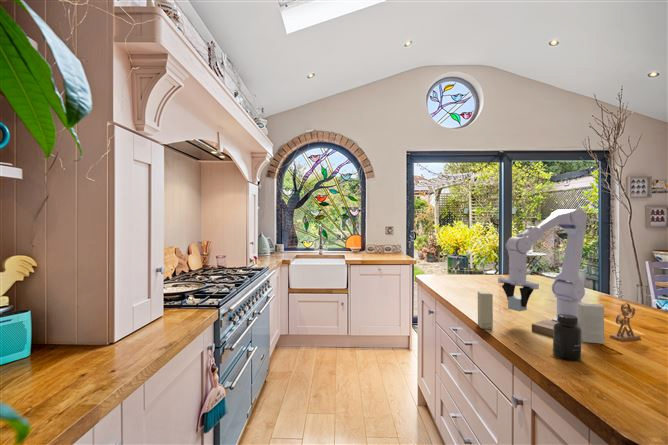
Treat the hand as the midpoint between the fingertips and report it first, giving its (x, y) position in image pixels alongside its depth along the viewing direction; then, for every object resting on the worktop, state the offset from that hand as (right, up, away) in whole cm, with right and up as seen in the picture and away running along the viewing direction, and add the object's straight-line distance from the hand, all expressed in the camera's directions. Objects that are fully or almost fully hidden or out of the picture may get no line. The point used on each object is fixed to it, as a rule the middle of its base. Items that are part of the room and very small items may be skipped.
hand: (517, 304), depth 126 cm
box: (-13, -8, -2) cm, 15 cm away
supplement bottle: (-1, -8, -28) cm, 29 cm away
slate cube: (0, -2, 0) cm, 2 cm away
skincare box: (+16, -8, -15) cm, 24 cm away
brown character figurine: (+29, -8, -13) cm, 33 cm away
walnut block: (+9, -8, -7) cm, 14 cm away
